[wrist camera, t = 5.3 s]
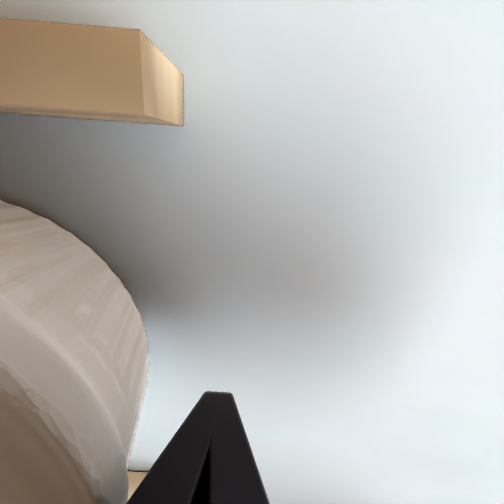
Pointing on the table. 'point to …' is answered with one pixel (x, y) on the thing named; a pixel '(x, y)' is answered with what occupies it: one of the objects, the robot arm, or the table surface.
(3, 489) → the ramekin
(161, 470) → the robot arm
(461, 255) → the table surface
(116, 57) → the cradle
